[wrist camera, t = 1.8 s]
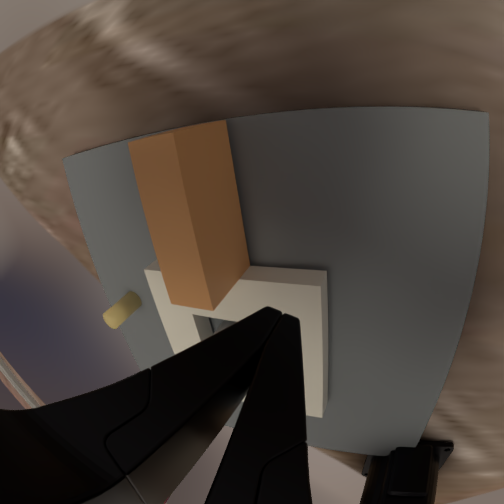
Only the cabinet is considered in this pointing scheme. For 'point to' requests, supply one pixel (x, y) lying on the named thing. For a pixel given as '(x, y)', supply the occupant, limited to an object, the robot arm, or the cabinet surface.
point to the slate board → (329, 248)
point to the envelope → (17, 384)
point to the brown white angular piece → (217, 250)
